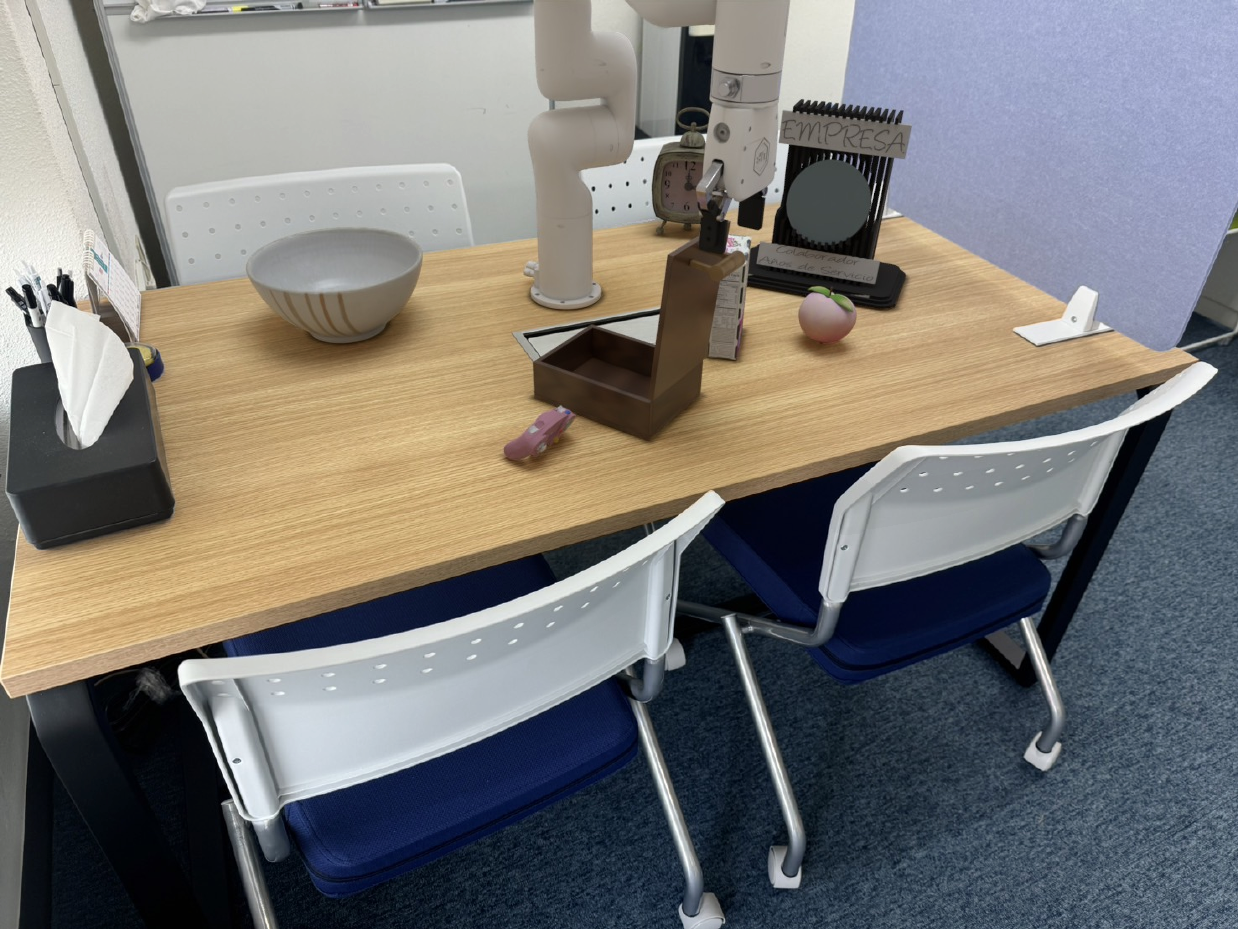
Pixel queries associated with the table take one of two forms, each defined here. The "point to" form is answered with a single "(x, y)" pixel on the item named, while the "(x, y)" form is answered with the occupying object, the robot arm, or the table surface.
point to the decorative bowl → (337, 280)
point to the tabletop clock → (680, 177)
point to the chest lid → (688, 311)
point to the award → (833, 205)
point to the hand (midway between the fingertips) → (731, 239)
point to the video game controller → (540, 434)
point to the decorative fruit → (826, 315)
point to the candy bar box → (730, 305)
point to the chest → (611, 382)
